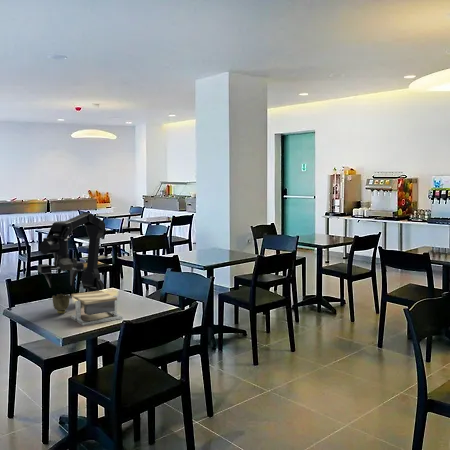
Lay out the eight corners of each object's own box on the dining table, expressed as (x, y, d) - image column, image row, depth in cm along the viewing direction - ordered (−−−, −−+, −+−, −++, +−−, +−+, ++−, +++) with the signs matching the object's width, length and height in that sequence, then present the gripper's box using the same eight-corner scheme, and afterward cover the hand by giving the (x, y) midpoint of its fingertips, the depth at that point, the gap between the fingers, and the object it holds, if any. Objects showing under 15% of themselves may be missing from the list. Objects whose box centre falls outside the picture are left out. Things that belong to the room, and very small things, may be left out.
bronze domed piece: (60, 316, 218) (60, 298, 218) (48, 313, 222) (48, 295, 222) (73, 312, 225) (73, 295, 224) (62, 310, 229) (62, 292, 228)
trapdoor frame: (71, 317, 217) (71, 298, 216) (110, 311, 228) (110, 293, 227) (82, 325, 207) (82, 305, 206) (122, 318, 218) (123, 299, 217)
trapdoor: (71, 306, 222) (71, 294, 221) (101, 302, 230) (101, 290, 230) (85, 315, 209) (85, 302, 209) (116, 310, 218) (116, 297, 217)
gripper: (45, 255, 209) (45, 292, 210) (88, 252, 220) (88, 287, 222) (36, 251, 217) (37, 287, 219) (79, 248, 229) (79, 282, 230)
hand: (61, 286), depth 222 cm, fingers open, 9 cm apart
